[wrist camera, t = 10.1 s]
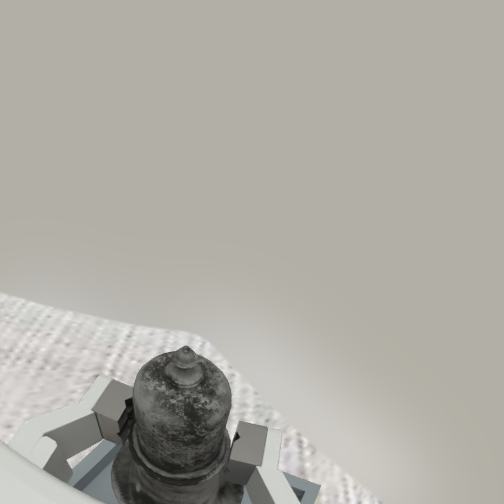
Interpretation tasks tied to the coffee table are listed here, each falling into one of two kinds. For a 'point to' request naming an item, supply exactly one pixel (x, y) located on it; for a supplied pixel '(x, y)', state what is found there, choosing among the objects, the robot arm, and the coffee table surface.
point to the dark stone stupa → (177, 435)
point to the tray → (100, 487)
